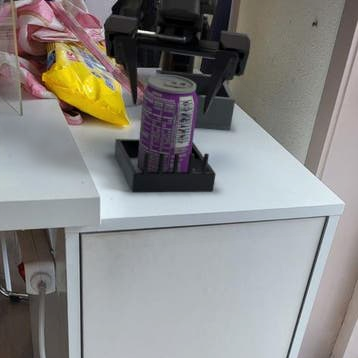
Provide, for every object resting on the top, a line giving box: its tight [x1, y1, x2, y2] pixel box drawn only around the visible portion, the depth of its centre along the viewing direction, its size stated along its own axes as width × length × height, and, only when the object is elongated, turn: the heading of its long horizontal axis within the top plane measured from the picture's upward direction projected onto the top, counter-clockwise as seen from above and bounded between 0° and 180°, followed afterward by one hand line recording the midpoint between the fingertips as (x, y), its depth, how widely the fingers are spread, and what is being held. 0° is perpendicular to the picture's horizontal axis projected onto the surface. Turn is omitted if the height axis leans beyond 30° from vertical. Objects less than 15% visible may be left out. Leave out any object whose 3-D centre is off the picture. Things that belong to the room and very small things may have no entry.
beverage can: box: [136, 74, 198, 172], centre depth 86 cm, size 7×7×12 cm
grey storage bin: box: [154, 69, 236, 131], centre depth 107 cm, size 12×12×5 cm
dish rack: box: [114, 138, 217, 193], centre depth 88 cm, size 11×11×5 cm
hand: (169, 108), depth 85 cm, fingers open, 9 cm apart
